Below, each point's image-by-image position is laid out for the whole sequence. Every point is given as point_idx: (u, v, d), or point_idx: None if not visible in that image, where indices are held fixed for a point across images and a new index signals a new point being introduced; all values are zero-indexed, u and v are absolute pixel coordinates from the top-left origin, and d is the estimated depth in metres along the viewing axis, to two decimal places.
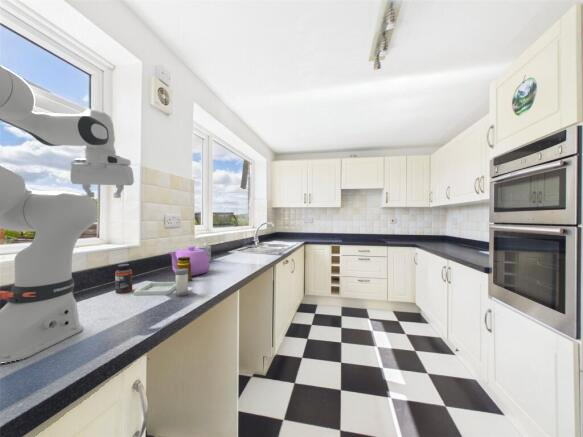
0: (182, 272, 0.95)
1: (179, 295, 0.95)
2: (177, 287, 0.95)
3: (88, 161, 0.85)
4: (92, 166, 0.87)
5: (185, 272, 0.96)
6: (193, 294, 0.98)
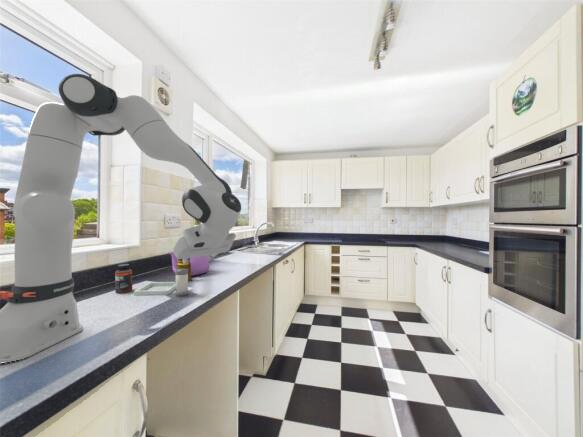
0: (182, 272, 0.95)
1: (179, 295, 0.95)
2: (177, 287, 0.95)
3: None
4: None
5: (185, 272, 0.96)
6: (193, 294, 0.98)
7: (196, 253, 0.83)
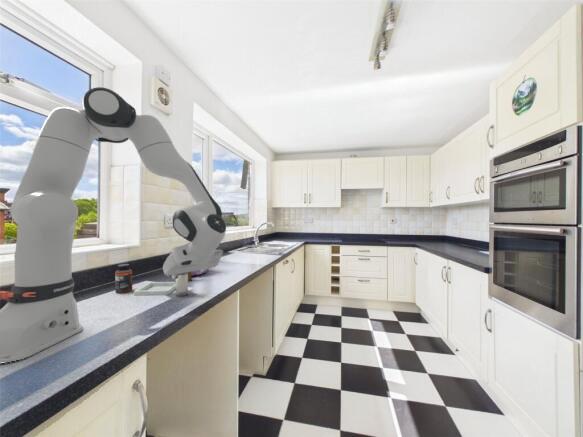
0: None
1: (179, 295, 0.95)
2: (177, 287, 0.95)
3: None
4: None
5: None
6: (193, 294, 0.98)
7: (185, 270, 0.88)
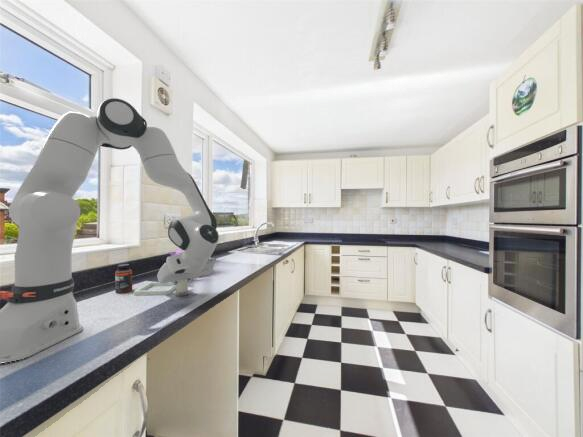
0: None
1: (179, 295, 0.95)
2: (177, 287, 0.95)
3: None
4: None
5: None
6: (193, 294, 0.98)
7: (179, 278, 0.91)
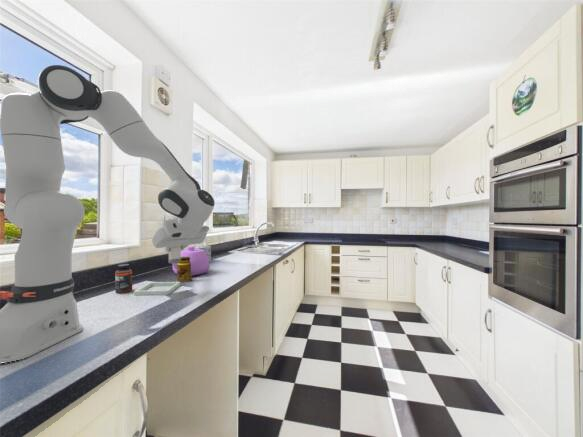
0: None
1: (173, 262, 0.97)
2: (170, 254, 0.97)
3: None
4: None
5: None
6: (193, 294, 0.98)
7: (173, 243, 0.93)
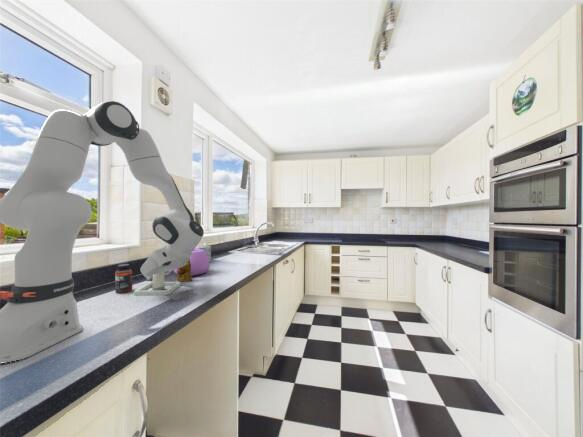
0: None
1: None
2: (155, 283, 1.01)
3: None
4: None
5: None
6: (193, 294, 0.98)
7: (160, 270, 0.98)
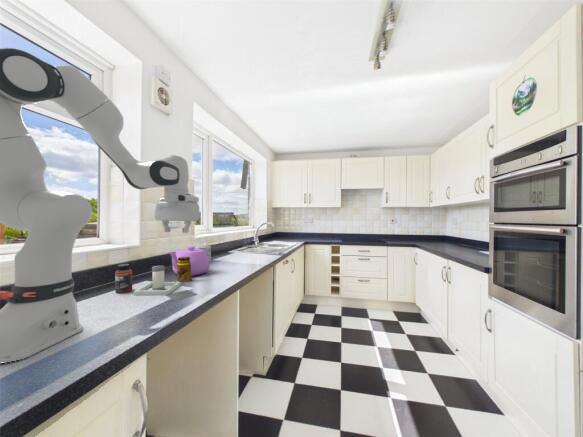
0: (160, 268, 1.02)
1: None
2: (155, 283, 1.01)
3: (165, 200, 0.95)
4: (168, 204, 0.96)
5: (163, 268, 1.03)
6: (193, 294, 0.98)
7: None
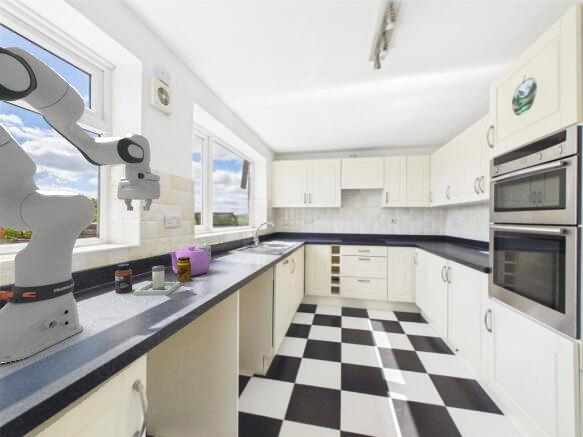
0: (160, 268, 1.02)
1: None
2: (155, 283, 1.01)
3: (125, 178, 0.96)
4: (129, 183, 0.98)
5: (163, 268, 1.03)
6: (193, 294, 0.98)
7: None
